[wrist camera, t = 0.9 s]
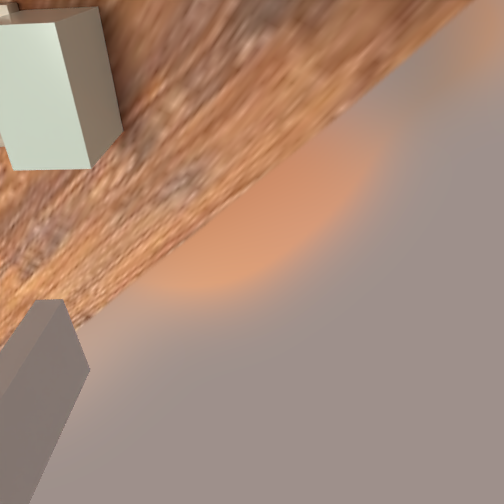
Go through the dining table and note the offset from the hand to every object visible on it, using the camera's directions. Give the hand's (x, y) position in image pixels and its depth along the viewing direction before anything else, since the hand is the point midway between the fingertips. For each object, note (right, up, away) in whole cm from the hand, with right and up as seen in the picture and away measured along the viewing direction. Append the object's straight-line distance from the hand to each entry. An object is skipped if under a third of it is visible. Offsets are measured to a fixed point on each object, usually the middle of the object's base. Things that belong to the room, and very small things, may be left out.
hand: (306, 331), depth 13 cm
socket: (-15, +16, +23) cm, 32 cm away
